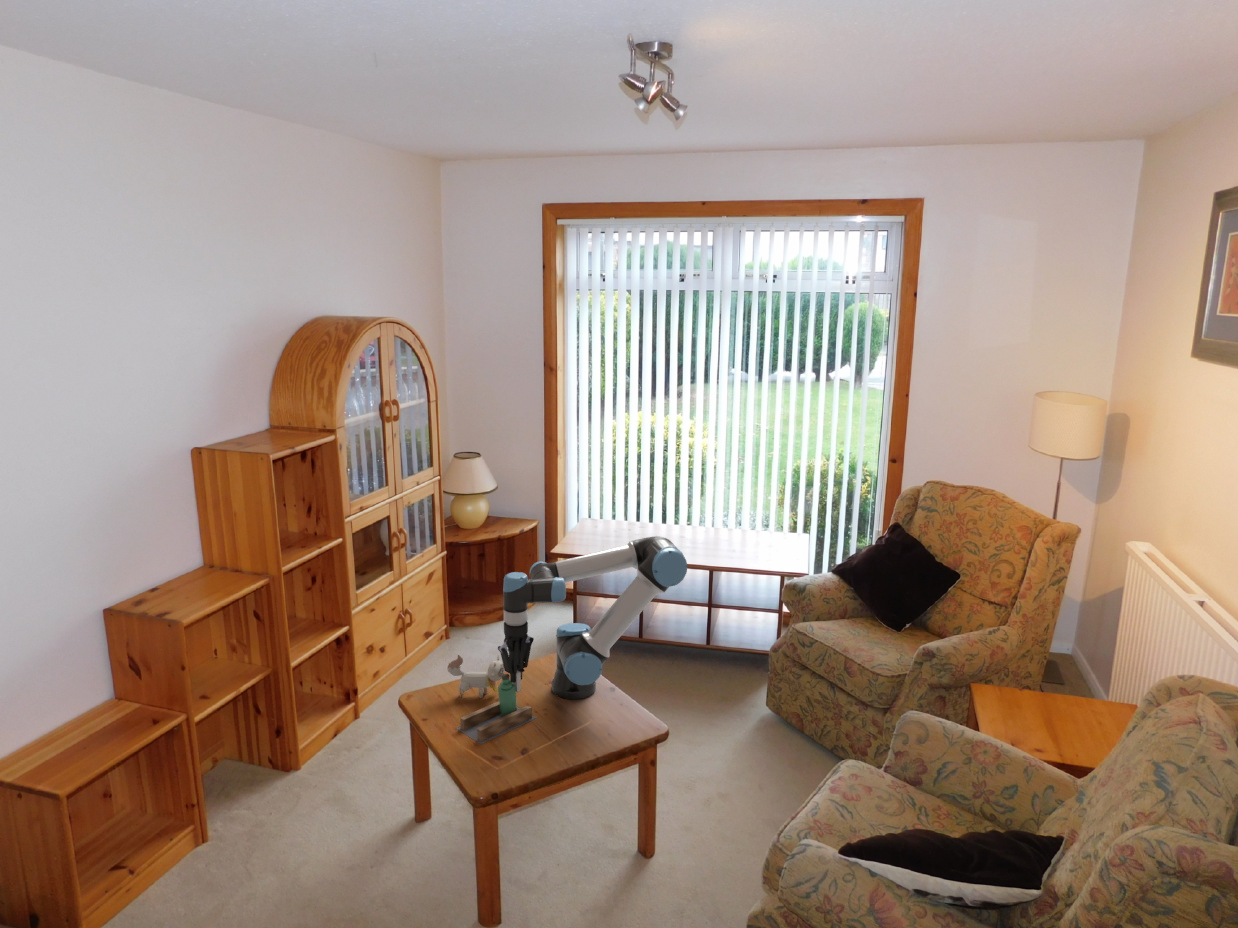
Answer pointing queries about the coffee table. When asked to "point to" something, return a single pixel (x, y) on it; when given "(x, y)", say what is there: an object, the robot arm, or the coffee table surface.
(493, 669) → the toy
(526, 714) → the rest
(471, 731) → the mat
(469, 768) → the coffee table surface
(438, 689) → the coffee table surface
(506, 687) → the bottle
